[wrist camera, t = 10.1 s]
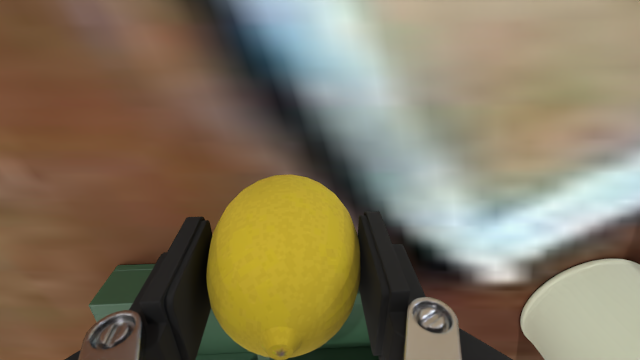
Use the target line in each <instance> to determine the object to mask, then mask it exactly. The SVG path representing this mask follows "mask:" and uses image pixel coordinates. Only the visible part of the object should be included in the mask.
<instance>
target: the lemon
mask: <svg viewBox="0 0 640 360" xmlns="http://www.w3.org/2000/svg"><path fill="white" fill-rule="evenodd" d="M360 271H361V265H360V245H359V240H358V236H357V232H356V230H355V227H354V224H353V222H352V219H351V217H350V214H349V212H348V211H347V209H346V208H345V207H344V205H343V204H342V203H341V201H340V200H339V199H338V197H337V196H336V195H335V194H334V193H333V192H331V191H330V190H329V189H327V188H326V187H325V186H323V185H322V184H321V183H319V182H316V181H314V180H312V179H309V178H307V177H302V176H296V175H275V176H272V177H268V178H265V179H261V180H259V181H257V182H256V183H254V184H252V185H250V186H249V187H247V188H245V189H244V190H243V191H242V192H241V193H240V194H239V195H238V196H237V197H236V198H235V199H234V200H233V201H232V202H231V203H230V204H229V205H228V206H227V208H226V209H225V211H224V213H223V215H222V216H221V218H220V220H219V222H218V224H217V226H216V228H215V230H214V232H213V236H212V239H211V244H210V249H209V255H208V261H207V274H206V278H207V289H208V294H209V299H210V304H211V308H212V310H213V313H214V315H215V317H216V319H217V320H218V322H219V324H220V326H221V327H222V328H223V330H224V331H225V332H226V333H227V334H228V335H229V336H230V337H231V338H232V339H233V340H234V341H235V342H236V343H237V344H239V345H240V346H242V347H243V348H245V349H247V350H249V351H250V352H253V353H256V354H258V355H261V356H264V357H270V358H272V359H275V360H285V359H287V358H291V357H297V356H300V355H303V354H306V353H309V352H311V351H313V350H315V349H317V348H319V347H320V346H322V345H323V344H325V343H326V342H327V341H328V340H329V339H331V338H332V337H333V336H334V335H335V334H336V333H337V332H338V331H339V330H340V329H341V327H342V326H343V324H344V323H345V321H346V320H347V318H348V317H349V315H350V313H351V311H352V308H353V305H354V302H355V299H356V296H357V292H358V288H359V283H360Z"/></svg>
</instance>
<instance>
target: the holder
mask: <svg viewBox="0 0 640 360" xmlns="http://www.w3.org/2000/svg"><path fill="white" fill-rule="evenodd" d="M154 266H155V264H139V265H118V266H117V267H116V268H115V270H114V271H113V272H112V274H111V275H110V276H109V278H108V279H107V281H106V282H105V283H104V285H103V286H102V287H101V289H100V290H99V292H98V293H97V294H96V296H95V297H94V298H93V300H92V301H91V303H90V304H89V307H90V309H91V311H92V313H93V315H94V317H95V319H96V321H97V322H98V321H99V320H100V319H102V318H104V317H106V316H107V315H109V314H112V313H115V312H117V311H123V310H129V309H130V307H131V305H132V304H133V302H134V300H135V298H136V297H137V295H138V293H139V292H140V290H141V288H142V286H143V285H144V283H145V281H146V280H147V278H148V276H149V274H150V273H151V271H152V269H153V267H154ZM196 360H275V359H272V358H270V357H264V356H261V355H258V354H256V353H253V352H250V351H249V350H247V349H245V348H243V347H242V346H240V345H239V344H237V343H236V342H235V341H234V340H233V339H232V338H231V337H230V336H229V335H228V334H227V333H226V332H225V331H224V330H223V328H222V327H221V326H220V324H219V322H218V320H217V319H216V317H215V315H214V313H213V310H212V308H211V311H210V314H209V317H208V321H207V324H206V327H205V331H204V334H203V337H202V340H201V344H200V347H199V350H198V354H197V357H196ZM285 360H379V357H378V356H373V354H372V350H371V345H370V340H369V335H368V330H367V326H366V321H365V316H364V311H363V306H362V302H361V297H360V292H359V288H358V292H357V296H356V299H355V302H354V305H353V308H352V311H351V313H350V315H349V317H348V318H347V320H346V321H345V323H344V324H343V326H342V327H341V329H340V330H339V331H338V332H337V333H336V334H335V335H334V336H333V337H332V338H331V339H329V340H328V341H327V342H326V343H325V344H323V345H322V346H320V347H319V348H317V349H315V350H313V351H311V352H309V353H306V354H303V355H300V356H297V357H291V358H287V359H285Z"/></svg>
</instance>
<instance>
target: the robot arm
mask: <svg viewBox="0 0 640 360" xmlns="http://www.w3.org/2000/svg"><path fill="white" fill-rule="evenodd" d="M211 239H212V232H211V227H210V222H209V221H208V220H205V219H204V217H188V218H186V220H185V221H184V223H183V225H182V227H181V229H180V230H179V232H178V234H177V236H176V238H175V239H174V241H173V243H172V245H171V247H170V248H169V250H168V252H166V253H163V254H161V256H160V257H159V259H158V261H157V262H156V264H155V266H154V267H153V269H152V271H151V273H150V274H149V276H148V278H147V280H146V281H145V283H144V285H143V286H142V288H141V290H140V292H139V293H138V295H137V297H136V298H135V300H134V302H133V304H132V305H131V307H130V309H129V310H123V311H117V312H115V313H112V314H109V315H107V316H106V317H104V318H102V319H100V320H99V321H98V322H97V323H95V324H94V325H93V326H92V327H91V328H90V330H89V331H88V332H87V334H86V336H85V338H84V340H83V344H82V347H81V350H80V351H78V352H76V353H75V354H73V355H72V356H70V357H68V358H67V359H65V360H196V357H197V354H198V350H199V347H200V344H201V340H202V337H203V334H204V331H205V327H206V324H207V321H208V317H209V314H210V311H211V304H210V299H209V294H208V289H207V278H206V274H207V261H208V255H209V249H210V244H211ZM358 240H359V245H360V265H361V271H360V283H359V292H360V297H361V302H362V306H363V311H364V316H365V321H366V326H367V330H368V335H369V340H370V345H371V350H372V354H373V356H378V357H379V360H512V359H511V358H509V357H507V356H506V355H504V354H502V353H501V352H499V351H497V350H495V349H494V348H492V347H490V346H489V345H487V344H485V343H484V342H482V341H480V340H478V339H477V338H475V337H473V336H472V335H470V334H468V333H467V332H465V331H463V330H462V329H460V328H459V326H458V320H457V317H456V315H455V313H454V312H453V310H452V309H451V308H450V307H449V306H448V305H446V304H445V303H443V302H441V301H440V300H437V299H434V298H429V297H426V296H425V294H424V292H423V290H422V287H421V285H420V283H419V280H418V278H417V276H416V274H415V271H414V269H413V267H412V264H411V262H410V260H409V258H408V255H407V253H406V251H405V248H404V247H403V245H402V244H392V242H391V240H390V237H389V235H388V232H387V230H386V227H385V225H384V222H383V219H382V217H381V214H380V212H379V211H376V212H365V213H364V216H359V226H358Z"/></svg>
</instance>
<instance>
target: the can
mask: <svg viewBox="0 0 640 360" xmlns="http://www.w3.org/2000/svg"><path fill="white" fill-rule="evenodd" d="M520 324H521V329H522V331H523V333H524V335H525V336H526V337H527V339H528V340H530V341H531V342H532V343H533V345H534V346H535V347H536V349H537V350H538V351H539V353H540V354H541V355H542V357H543V358H544V359H545V360H640V265H639V264H637V263H635V262H632V261H629V260H625V259H601V260H595V261H590V262H586V263H583V264H580V265H577V266H575V267H572V268H570V269H567V270H565V271H563V272H561V273H559V274H558V275H556V276H554V277H553V278H551V279H550V280H548V281H547V282H546V283H544V284H543V285H542V286H541V287H540V288H538V289H537V290H536V291H535V292H534V294H533V295H532V296H531V297H530V298H529V300H528V301H527V303H526V304H525V306H524V308H523V311H522V314H521V319H520Z"/></svg>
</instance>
